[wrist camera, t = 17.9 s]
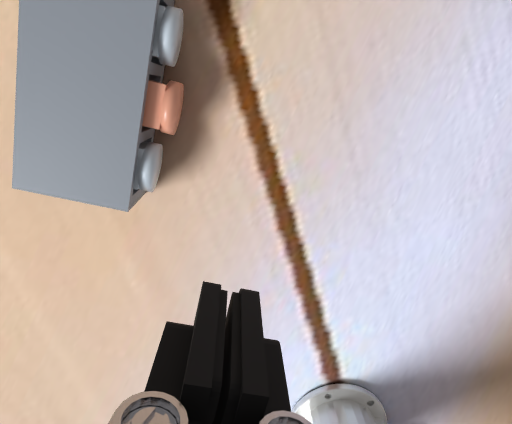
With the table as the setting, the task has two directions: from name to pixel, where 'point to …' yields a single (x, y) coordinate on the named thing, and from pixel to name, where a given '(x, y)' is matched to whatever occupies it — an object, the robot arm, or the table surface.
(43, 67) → the socket block
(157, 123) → the plug terracotta
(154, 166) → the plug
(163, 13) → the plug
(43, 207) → the table surface
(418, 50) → the table surface
